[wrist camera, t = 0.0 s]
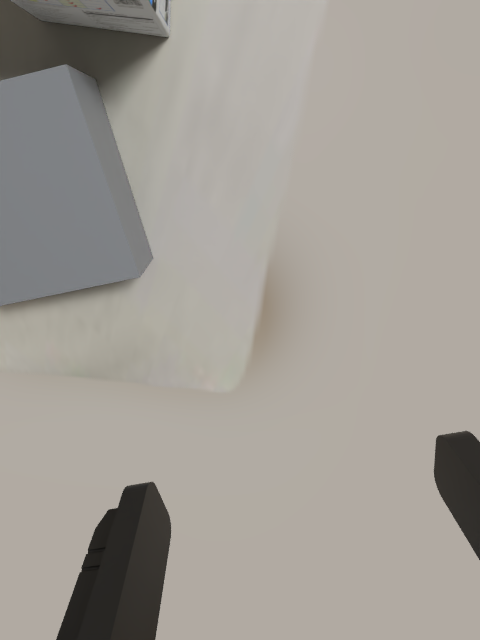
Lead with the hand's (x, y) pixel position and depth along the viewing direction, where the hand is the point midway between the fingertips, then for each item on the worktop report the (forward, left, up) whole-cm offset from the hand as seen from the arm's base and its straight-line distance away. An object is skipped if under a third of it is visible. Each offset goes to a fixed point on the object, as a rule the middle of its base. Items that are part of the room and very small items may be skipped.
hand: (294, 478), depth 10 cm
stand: (-8, -17, -29) cm, 35 cm away
